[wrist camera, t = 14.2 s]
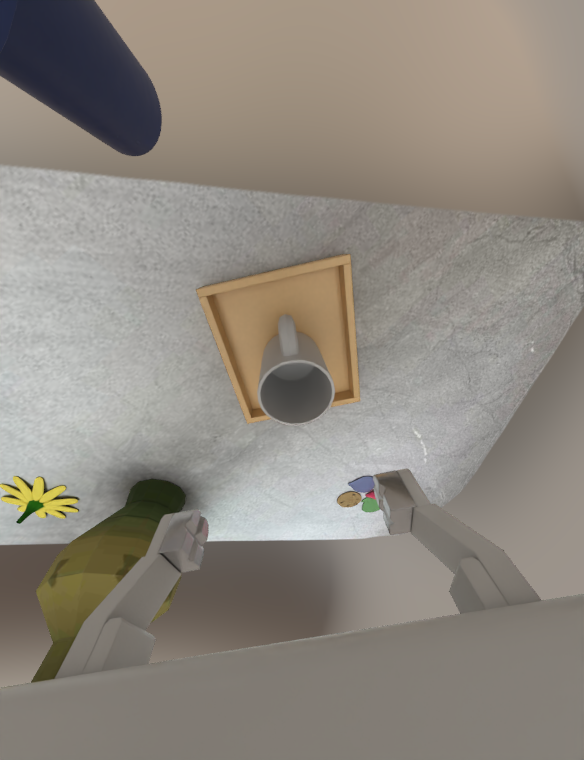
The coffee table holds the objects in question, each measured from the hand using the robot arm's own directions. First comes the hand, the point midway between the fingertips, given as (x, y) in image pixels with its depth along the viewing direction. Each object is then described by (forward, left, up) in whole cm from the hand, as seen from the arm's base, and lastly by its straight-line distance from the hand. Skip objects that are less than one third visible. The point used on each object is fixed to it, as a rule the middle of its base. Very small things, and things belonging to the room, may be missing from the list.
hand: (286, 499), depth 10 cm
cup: (+1, +1, -20) cm, 20 cm away
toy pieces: (+34, +10, -21) cm, 41 cm away
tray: (+1, +1, -21) cm, 21 cm away
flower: (+19, -47, -21) cm, 55 cm away
